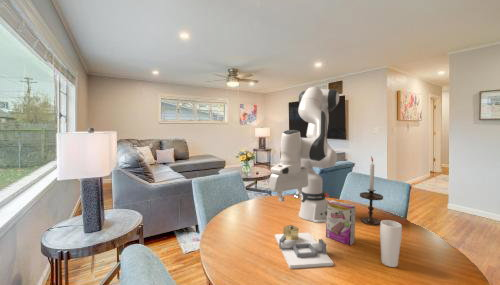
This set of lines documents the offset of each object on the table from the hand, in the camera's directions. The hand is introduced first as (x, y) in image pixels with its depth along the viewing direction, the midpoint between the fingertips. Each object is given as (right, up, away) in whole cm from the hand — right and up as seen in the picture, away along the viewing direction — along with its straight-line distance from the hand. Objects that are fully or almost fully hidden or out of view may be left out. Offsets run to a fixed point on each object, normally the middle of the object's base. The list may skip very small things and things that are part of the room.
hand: (289, 199), depth 100 cm
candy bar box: (+23, -19, +2) cm, 29 cm away
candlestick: (+47, -18, +22) cm, 54 cm away
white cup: (+34, -20, -16) cm, 42 cm away
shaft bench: (+4, -19, -6) cm, 20 cm away
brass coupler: (+1, -17, +1) cm, 17 cm away
